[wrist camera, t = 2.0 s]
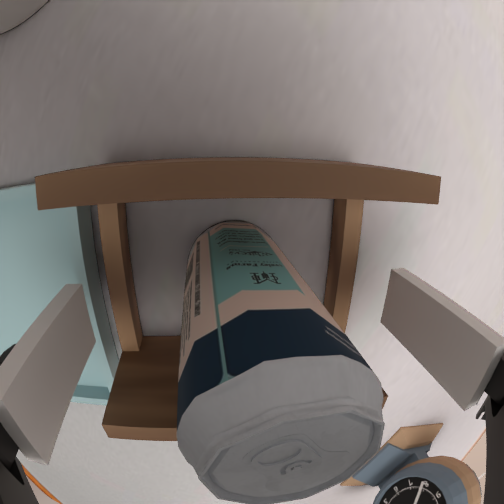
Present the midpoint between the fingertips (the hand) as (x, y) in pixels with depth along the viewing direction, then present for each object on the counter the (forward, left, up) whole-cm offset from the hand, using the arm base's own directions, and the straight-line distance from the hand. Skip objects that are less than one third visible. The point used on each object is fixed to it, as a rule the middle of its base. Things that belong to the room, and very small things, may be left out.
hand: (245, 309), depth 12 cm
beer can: (0, 0, -5) cm, 5 cm away
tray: (+2, -14, -5) cm, 15 cm away
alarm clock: (+28, +20, -5) cm, 35 cm away
